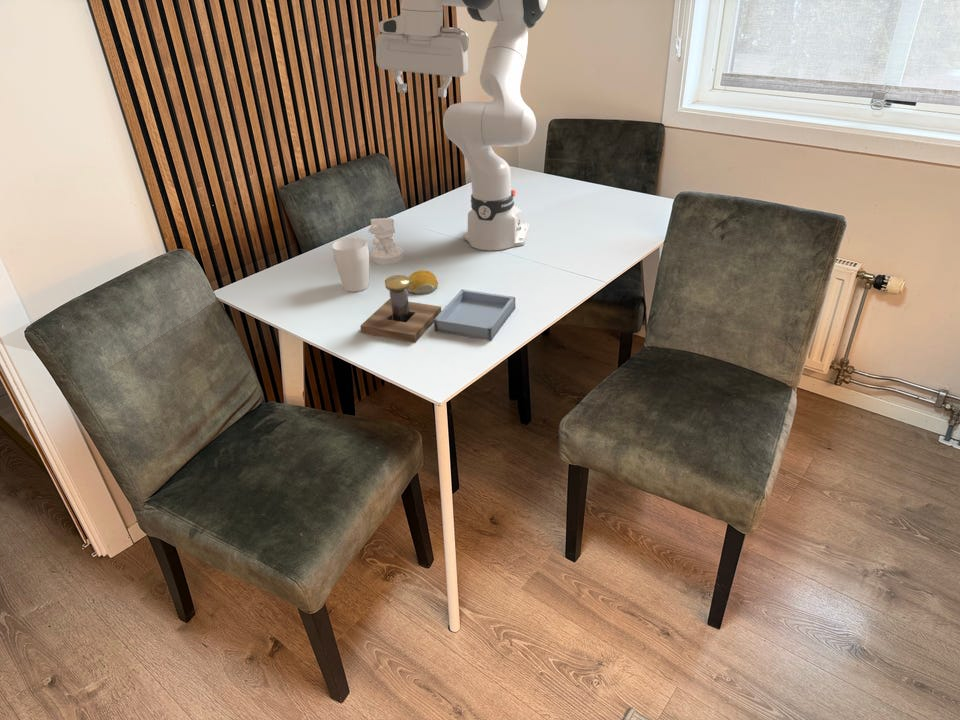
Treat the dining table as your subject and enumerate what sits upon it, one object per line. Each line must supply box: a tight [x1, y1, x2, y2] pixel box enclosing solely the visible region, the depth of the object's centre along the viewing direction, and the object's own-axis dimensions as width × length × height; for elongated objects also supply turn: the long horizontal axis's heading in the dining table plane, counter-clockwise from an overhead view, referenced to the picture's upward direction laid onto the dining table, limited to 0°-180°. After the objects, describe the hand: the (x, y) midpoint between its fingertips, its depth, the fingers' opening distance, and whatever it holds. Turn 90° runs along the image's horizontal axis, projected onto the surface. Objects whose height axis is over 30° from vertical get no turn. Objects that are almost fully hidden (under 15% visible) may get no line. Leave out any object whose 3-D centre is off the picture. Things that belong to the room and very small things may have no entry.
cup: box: [331, 236, 370, 293], centre depth 172 cm, size 9×9×12 cm
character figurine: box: [367, 217, 404, 266], centre depth 187 cm, size 9×10×12 cm
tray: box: [433, 289, 516, 341], centre depth 157 cm, size 16×14×3 cm
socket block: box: [360, 298, 442, 343], centre depth 157 cm, size 14×14×2 cm
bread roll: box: [407, 269, 439, 295], centre depth 173 cm, size 8×9×4 cm
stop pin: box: [384, 274, 410, 322], centre depth 155 cm, size 6×6×11 cm
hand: (422, 94), depth 147 cm, fingers open, 8 cm apart
